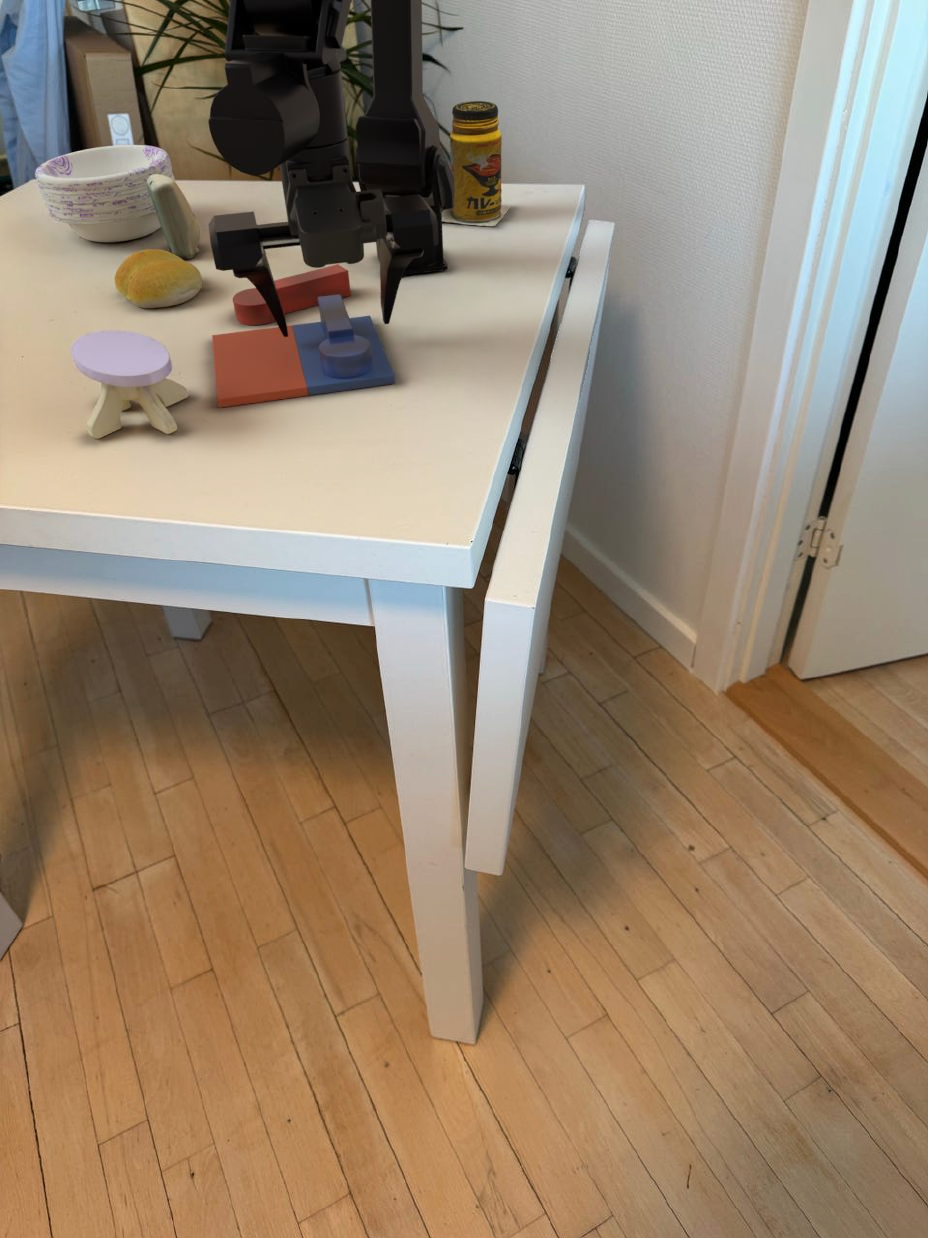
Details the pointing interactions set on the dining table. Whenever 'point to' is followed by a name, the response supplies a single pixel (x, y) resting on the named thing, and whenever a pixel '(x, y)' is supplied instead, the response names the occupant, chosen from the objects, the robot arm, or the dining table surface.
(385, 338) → the dining table surface
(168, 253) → the bread roll
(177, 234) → the green soap bar
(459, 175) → the condiment
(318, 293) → the red spoon
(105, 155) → the paper bowls
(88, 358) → the toy table
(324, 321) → the blue spoon
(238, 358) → the sorting board
